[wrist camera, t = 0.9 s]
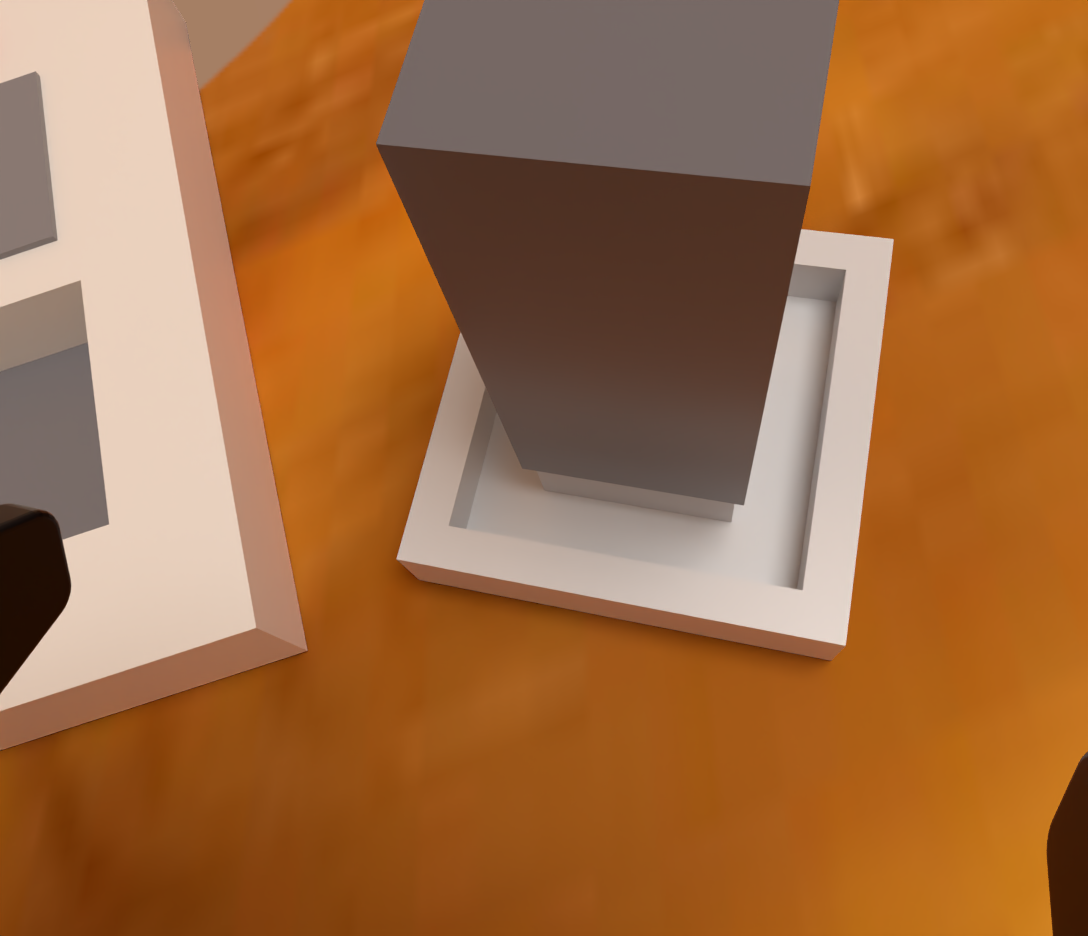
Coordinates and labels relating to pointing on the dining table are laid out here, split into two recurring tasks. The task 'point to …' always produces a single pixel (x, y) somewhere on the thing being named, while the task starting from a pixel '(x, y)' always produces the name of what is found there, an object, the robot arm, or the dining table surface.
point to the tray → (671, 538)
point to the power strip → (128, 371)
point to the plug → (616, 223)
